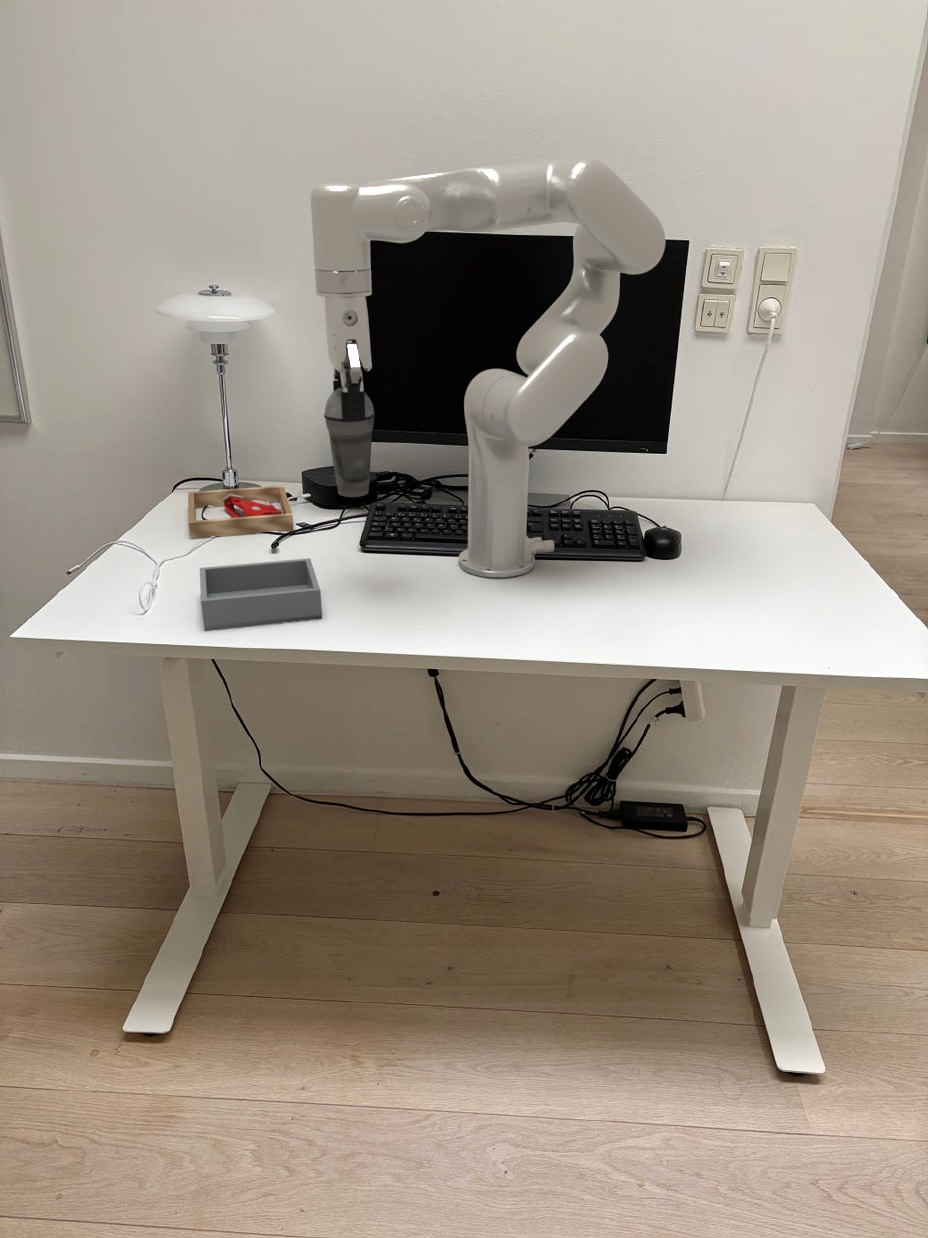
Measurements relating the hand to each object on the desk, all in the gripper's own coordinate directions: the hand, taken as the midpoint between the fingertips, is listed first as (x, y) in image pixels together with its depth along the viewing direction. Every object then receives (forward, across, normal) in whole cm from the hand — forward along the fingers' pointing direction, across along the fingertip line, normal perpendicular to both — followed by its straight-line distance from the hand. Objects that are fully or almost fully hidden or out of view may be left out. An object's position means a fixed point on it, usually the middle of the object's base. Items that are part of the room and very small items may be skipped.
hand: (349, 412), depth 137 cm
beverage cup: (+12, 0, 0) cm, 12 cm away
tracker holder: (+28, +39, +14) cm, 50 cm away
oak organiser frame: (+28, +38, +16) cm, 50 cm away
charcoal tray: (+28, -3, +15) cm, 32 cm away
